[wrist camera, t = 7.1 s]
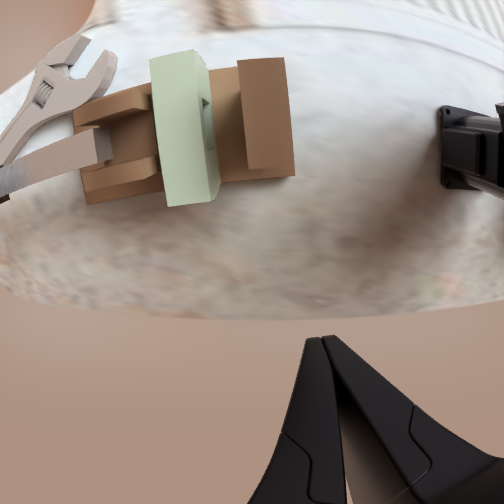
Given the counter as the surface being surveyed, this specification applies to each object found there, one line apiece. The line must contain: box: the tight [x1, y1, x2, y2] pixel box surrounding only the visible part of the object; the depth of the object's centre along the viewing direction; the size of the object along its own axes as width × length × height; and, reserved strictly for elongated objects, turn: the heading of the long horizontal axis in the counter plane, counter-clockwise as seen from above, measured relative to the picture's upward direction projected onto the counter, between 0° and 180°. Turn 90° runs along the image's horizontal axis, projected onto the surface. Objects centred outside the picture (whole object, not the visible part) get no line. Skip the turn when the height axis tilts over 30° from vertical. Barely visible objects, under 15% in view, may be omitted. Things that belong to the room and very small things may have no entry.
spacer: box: [150, 49, 221, 207], centre depth 13 cm, size 2×7×5 cm, turn 5°
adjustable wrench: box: [0, 34, 118, 166], centre depth 14 cm, size 25×6×2 cm, turn 112°
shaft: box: [0, 128, 114, 204], centre depth 9 cm, size 11×2×6 cm, turn 96°
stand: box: [72, 57, 295, 205], centre depth 12 cm, size 14×7×8 cm, turn 96°
